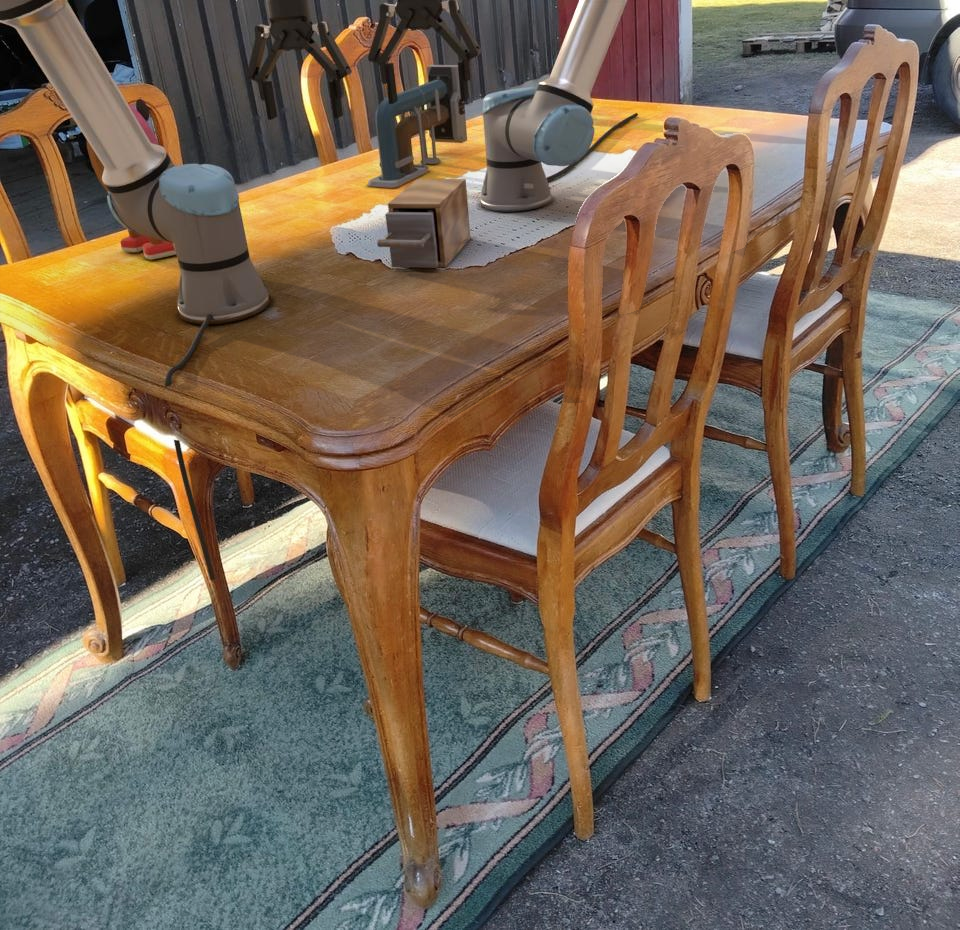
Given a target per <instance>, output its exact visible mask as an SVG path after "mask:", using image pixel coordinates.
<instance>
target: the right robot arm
mask: <svg viewBox="0 0 960 930" xmlns="http://www.w3.org/2000/svg"><path fill="white" fill-rule="evenodd" d="M627 2H628V0H578V3H577V5H576V9H575V11H574V13H573V16H572V18H571V21H570V23H569V27H568V29H567V32H566V34H565V36H564V39H563V42H562V44H561V46H560V50H559V52H558V55H557V57H556V60H555V63H554V65H553V68H552V70H551V73H550V74H549V75H550V76H549V77H548V78H546V79H544V80H542V81H540V82H539V83H538V85H537V87H536V86H535V87H534V86H528V87H519V88H513V89H505V90H500V91H495V92H491V93H489V94H486V95H485V96H484V98H483V99H482V113H481V116H482V117H483V134H484V146H485V158H486V159H485V160H486V171H485V175H484V178H483V183H482V187H481V192H480V206H481V207H483V208H484V209H486V210H488V211H493V212H502V213H503V212H504V213H505V212H507V213H511V212H512V213H513V212H524V211H530V210H536V209H539V208H543V207H545V206H546V205H548V204H550V203H551V201H552V190H551V187H550V183H549V182H551V181H553V180H556V179H557V178H559V177H560V176H564V174H566V173H567V172H568V171H570V170H571V169H573V168H575V167H576V166H577V165H579V164H580V163H581V162H582V161H583V160H585V159H586V158H587V157H588V156H589V155H590V154H591V153H592V152H594V150H595V149H596V148H597V147H598V146H599V145H600V144H601V143H602V142H603V141H604V140H605V139H607V137H608V136H610V135H611V134H612V133H613V132H614V131H616V130H617V129H619V128H621V126H623V125H624V124H626V123H628V122H630V121H632V120H633V119H635V118H637V117H638V116H639V113H637V112H635V113H633V114H631V115H630V116H628V117H626V118H624V119H623V120H621V121H619V122H617V123H616V124H615V125H614V126H612V127H611V128H609V129H608V130H607V131H606V132H604V133H603V134H602V136H600V137H599V138H598V139H597V140H596V142H594V143H593V141H594V136H595V127H594V118H593V116H592V111H593V110H594V107H595V106H594V105H595V104H594V102H593V100H592V96H591V93H592V91H593V88H594V85H595V83H596V81H597V78H598V76H599V73H600V70H601V68H602V65H603V62H604V60H605V58H606V54H607V53H608V50H609V48H610V45H611V42H612V39H613V37H614V35H615V33H616V31H617V27H618V26H619V25H618V24H619V22H620V20H621V17H622V14H623V12H624V10H625V7H626V5H627ZM378 10H379V19H378V23H377V26H376V29H375V33H374V36H373V40H372V42H371V45H370V50H369V53H368V56H367V59H368V61H369V62H370V63H372V62H373V63H376V64H377V65H378V66H379V67H378V68H379V74H380V82H381V83H382V85H386V90H387V97H388V100H389V104H394V103H395V102H397V101H398V99H397V94H398V91H397V82H396V75H395V66H394V62H390V60H391V59H392V56H393V54H394V53H395V51H396V50H397V48H398V46H399V45H400V43H401V42H402V40H403V38H404V36H405V35H406V33H407V32H408V31H409V30H410V31H417V30H422V31H423V30H424V31H429V30H430V29H433V30H434V31H435V32H437V33H438V35H440V36H441V38H442V39H443V40H444V41H445V43H447V45H448V46H449V47H450V48H451V49H452V50H453V51H454V53H455V54H456V55H457V56H458V57H459V58H460V60H459V61H458V62H457V65H458V72H459V84H460V95H461V102H464V103H465V102H467V101H468V100H469V99H470V93H469V91H470V90H469V81H471V80H472V79H473V76H474V75H473V65H472V64H473V63H472V60H473V59H474V58H476V57H478V56H479V55H481V54H482V48H481V47H480V44H479V43H478V41H477V39H476V37H475V35H474V33H473V32H472V30H471V28H470V26H469V24H468V22H467V20H466V19H465V17H464V15H463V13H462V10H461V5H460V0H444V1H443V0H396V3H395V4H394V3H390V2H384V3H381V4H380V5H379V9H378ZM444 10H445V11H446V13H447V14H448V15H450V17H451V19H452V22H453V23H454V25H455V27H456V29H457V31H458V33H459V35H460V37H461V38H462V40H463V42H464V43H463V42H462V41H461V40H460V39H459V38H458V36H457V35H456V34H455V33H454V32H453V31H452V30H451V28H450V27H449V26H448V25H447V23H446V21H445V20H444V19H443V18H442V17H441V14H442V13H443V11H444ZM395 13H396V14H397V16H398V18H399V19H400V21H399V23H398V25H397V26H396V29H395V31H394V33H392V36H391V38H390V39H389V41H388V42H387V44H386V46H385V48H384V49H383V45H384V42H385V38H386V36H387V32H388V29H389V26H390V22H391V18H392V17H394V15H395ZM464 44H465V45H464ZM382 49H383V51H382ZM381 52H382V53H381ZM543 164H544V165H545V166H551V167H552V166H553V167H554V166H557V167H564V168H562V169H561V170H560V171H558V172H556V173H553V174H552V175H550V176H548V177H547V175H546V172H545V170H544V167H543Z"/></svg>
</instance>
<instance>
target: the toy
mask: <svg viewBox="0 0 960 930" xmlns="http://www.w3.org/2000/svg"><path fill="white" fill-rule="evenodd" d="M124 99H125V100H126V98H125V97H124ZM126 102H127V104H128V105H129V107H130V109H131V110H132V112H133V114H134V115H135V117H136V119H137V121H138V122H139V124H140V126H141V127H142V129H143V131H144V132H145V134H146V136H147V138H148V139H149V141H150V143H152V144H156V145H159V146H160V144H159V142H158V139H157V136H156V135H155V132H154V131H153V129H152V127H151V126H150V124H149V123H148V122H149V120H150V110H149V107H148V106H147V103H146V101H144V100H143V99H142V98H138V99H136V102H135V107H134V106H133V105H132V104H130V103H128V101H127V100H126ZM86 149H87V153H88V156H89V160H90V163H91V167H92V169H93V170H94V173H95V175H96V177H97V179H98V181H99V183H100V184H101V185H102V187H103V188H104V189H105V191H106V192H107V193H108V189H107V188H106V186H105V184H104V183H103V181H102V176H103V172H104V166H103V164H102V162H101V161H100V159H99V158H98V156H97V155H96V153H95V152H94V150H93V148H92V147H91V145H90V144H89V142H88V141H87V140H86ZM127 233H128V236H126V237H123V238H121V240H120V248H121V250H122V251H123V252H125V253H140V252H142V251H143V255H144V257H145V259H147V260H149V261H152V260H157V259H162V258H163V259H164V258H167V257H171V256H177V255H176V250H175V246H174V243H171V242H167V241H163V240H159V239H155V238H150V237H144V236H141V235H138V234H136V233H134V232H133V231H130V230H129V229H127Z"/></svg>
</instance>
